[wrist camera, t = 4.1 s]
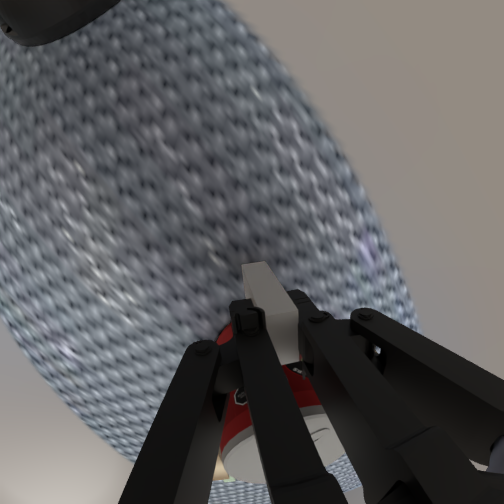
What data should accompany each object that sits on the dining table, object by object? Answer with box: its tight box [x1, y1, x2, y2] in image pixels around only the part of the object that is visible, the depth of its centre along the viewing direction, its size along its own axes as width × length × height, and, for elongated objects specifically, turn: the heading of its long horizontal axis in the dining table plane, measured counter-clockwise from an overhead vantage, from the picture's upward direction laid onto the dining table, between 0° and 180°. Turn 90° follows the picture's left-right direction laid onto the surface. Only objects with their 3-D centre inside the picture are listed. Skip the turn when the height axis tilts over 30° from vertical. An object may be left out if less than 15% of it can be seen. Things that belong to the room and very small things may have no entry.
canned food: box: [216, 322, 345, 484], centre depth 16 cm, size 8×8×11 cm
